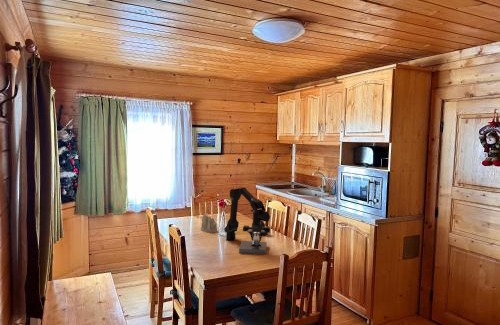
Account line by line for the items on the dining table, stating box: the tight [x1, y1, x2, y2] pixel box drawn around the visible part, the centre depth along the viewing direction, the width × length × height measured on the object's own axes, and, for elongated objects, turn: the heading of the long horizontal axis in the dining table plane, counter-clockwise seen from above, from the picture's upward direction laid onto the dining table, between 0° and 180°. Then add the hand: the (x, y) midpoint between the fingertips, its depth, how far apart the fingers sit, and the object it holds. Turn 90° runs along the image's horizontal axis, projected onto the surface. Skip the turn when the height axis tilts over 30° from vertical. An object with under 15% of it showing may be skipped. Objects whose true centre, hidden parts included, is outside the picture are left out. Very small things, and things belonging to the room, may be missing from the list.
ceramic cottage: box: [200, 212, 218, 233], centre depth 292 cm, size 16×16×15 cm
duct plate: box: [238, 240, 268, 255], centre depth 243 cm, size 18×18×3 cm
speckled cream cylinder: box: [253, 232, 261, 245], centre depth 242 cm, size 5×5×8 cm
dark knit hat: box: [251, 220, 269, 236], centre depth 284 cm, size 10×15×15 cm
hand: (256, 240), depth 242 cm, fingers closed on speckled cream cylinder, 5 cm apart
